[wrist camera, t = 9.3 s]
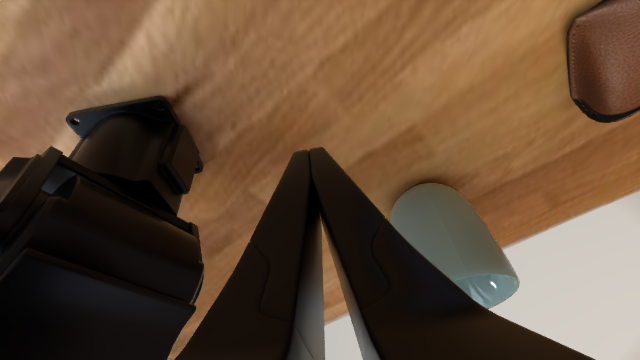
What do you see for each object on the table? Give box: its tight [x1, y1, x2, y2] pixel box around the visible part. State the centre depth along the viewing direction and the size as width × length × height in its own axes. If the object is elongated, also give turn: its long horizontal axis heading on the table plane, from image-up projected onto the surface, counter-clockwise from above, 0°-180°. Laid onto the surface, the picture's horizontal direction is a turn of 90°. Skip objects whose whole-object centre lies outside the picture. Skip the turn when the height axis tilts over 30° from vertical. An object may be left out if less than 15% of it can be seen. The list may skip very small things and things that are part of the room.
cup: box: [389, 183, 519, 309], centre depth 27 cm, size 8×8×10 cm
